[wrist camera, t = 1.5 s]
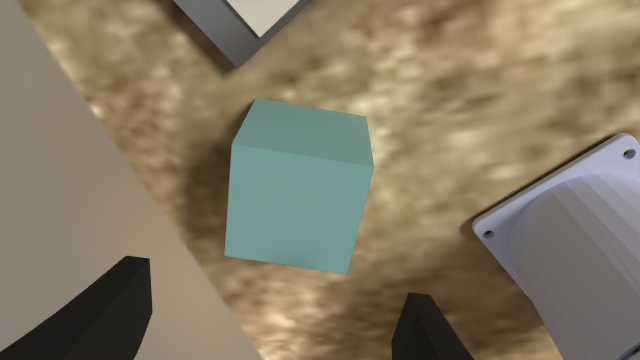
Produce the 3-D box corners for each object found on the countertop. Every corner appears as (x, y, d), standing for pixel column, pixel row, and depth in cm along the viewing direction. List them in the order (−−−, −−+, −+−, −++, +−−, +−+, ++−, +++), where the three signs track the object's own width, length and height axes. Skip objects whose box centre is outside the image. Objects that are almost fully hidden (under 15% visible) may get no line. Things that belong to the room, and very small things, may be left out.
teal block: (366, 116, 19) (374, 167, 15) (345, 207, 22) (346, 274, 17) (256, 97, 19) (231, 144, 15) (247, 191, 21) (224, 255, 17)
